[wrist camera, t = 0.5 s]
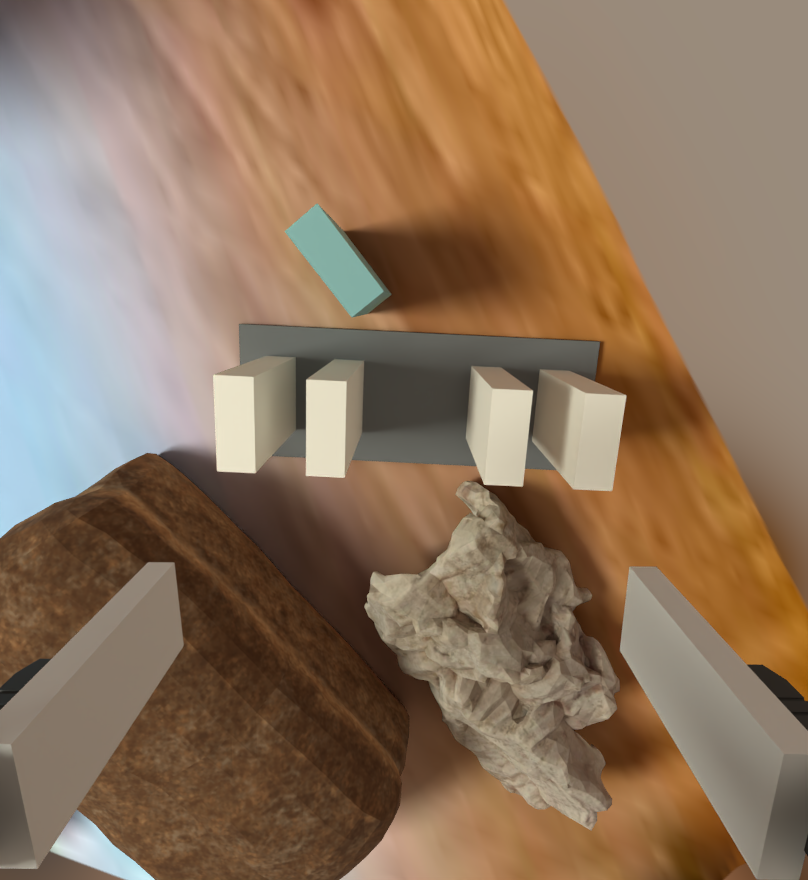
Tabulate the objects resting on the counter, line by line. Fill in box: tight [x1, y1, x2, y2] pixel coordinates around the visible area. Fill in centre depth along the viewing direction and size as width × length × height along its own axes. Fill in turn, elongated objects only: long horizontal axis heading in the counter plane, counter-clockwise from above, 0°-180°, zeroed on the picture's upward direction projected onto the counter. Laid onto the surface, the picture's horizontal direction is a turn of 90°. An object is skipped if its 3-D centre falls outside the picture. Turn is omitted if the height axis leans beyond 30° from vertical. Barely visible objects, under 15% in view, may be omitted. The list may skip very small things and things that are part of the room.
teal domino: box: [285, 204, 392, 317], centre depth 31 cm, size 2×5×10 cm, turn 38°
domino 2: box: [306, 359, 364, 478], centre depth 32 cm, size 2×5×10 cm, turn 177°
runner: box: [239, 324, 600, 470], centre depth 37 cm, size 24×9×1 cm, turn 87°
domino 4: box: [532, 369, 626, 491], centre depth 32 cm, size 2×5×10 cm, turn 177°
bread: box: [0, 453, 409, 880], centre depth 36 cm, size 17×30×13 cm, turn 39°
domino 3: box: [466, 366, 533, 487], centre depth 32 cm, size 2×5×10 cm, turn 178°
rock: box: [364, 481, 620, 830], centre depth 39 cm, size 24×9×15 cm
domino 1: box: [213, 356, 296, 473], centre depth 32 cm, size 2×5×10 cm, turn 177°
